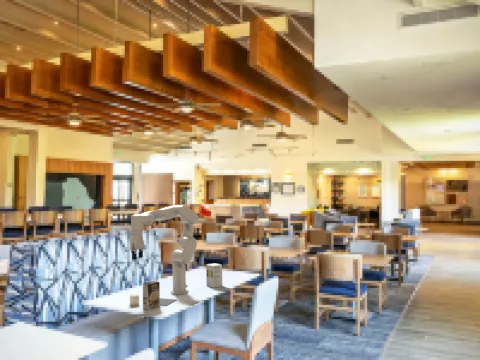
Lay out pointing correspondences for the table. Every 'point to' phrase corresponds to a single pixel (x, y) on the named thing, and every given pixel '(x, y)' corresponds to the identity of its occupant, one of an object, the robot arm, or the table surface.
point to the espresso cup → (134, 300)
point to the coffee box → (151, 295)
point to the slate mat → (166, 301)
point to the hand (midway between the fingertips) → (137, 258)
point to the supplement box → (214, 275)
